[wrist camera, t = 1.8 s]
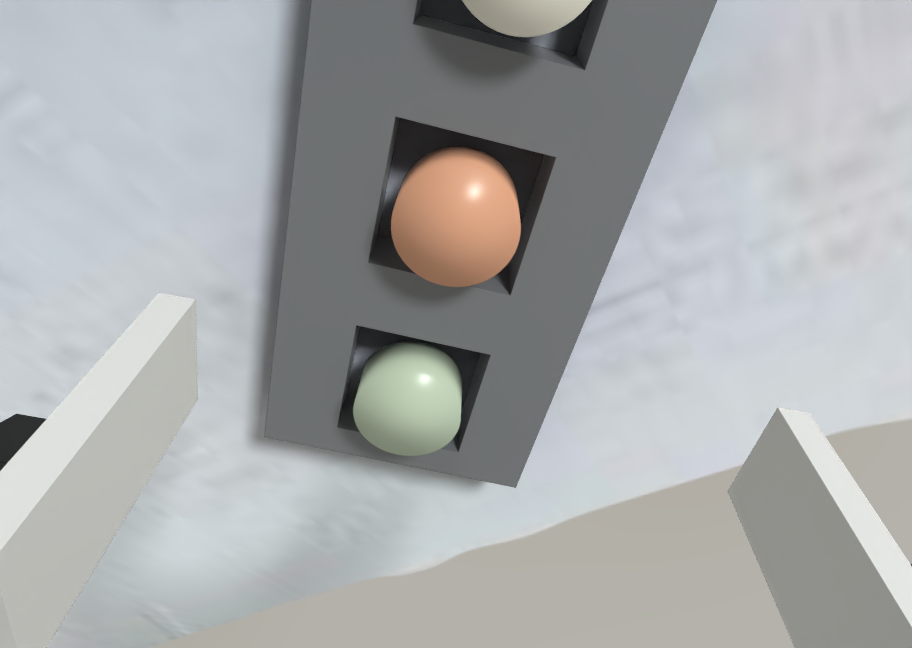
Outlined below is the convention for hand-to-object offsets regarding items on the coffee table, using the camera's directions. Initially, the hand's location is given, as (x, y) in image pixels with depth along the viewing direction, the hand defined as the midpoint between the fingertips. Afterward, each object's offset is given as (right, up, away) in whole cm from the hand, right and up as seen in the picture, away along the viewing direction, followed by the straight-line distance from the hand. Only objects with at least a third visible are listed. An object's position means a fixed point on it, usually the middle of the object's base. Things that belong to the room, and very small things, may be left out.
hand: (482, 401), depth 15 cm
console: (0, +8, +15) cm, 17 cm away
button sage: (-3, -1, +19) cm, 19 cm away
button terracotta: (-1, +7, +13) cm, 15 cm away
